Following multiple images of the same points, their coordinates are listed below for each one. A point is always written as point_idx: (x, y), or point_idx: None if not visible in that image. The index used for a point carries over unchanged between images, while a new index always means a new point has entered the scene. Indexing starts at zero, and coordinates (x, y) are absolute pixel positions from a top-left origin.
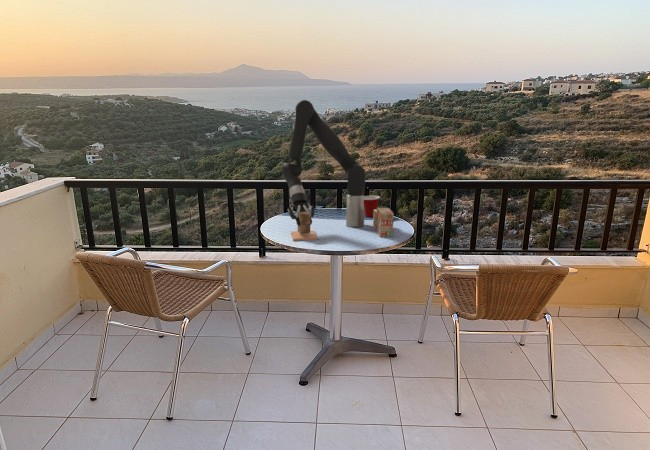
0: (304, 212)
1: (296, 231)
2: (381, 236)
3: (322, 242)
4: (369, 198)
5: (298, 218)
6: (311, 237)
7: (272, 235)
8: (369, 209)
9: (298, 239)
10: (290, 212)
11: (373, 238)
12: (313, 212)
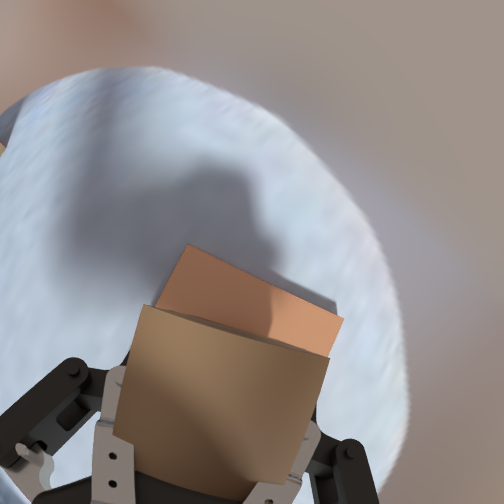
0: (197, 417)
1: None
2: (4, 146)
3: (201, 193)
4: None
5: None
6: (224, 269)
7: (371, 466)
8: None
9: (310, 305)
10: (376, 500)
11: (24, 142)
12: (50, 382)
